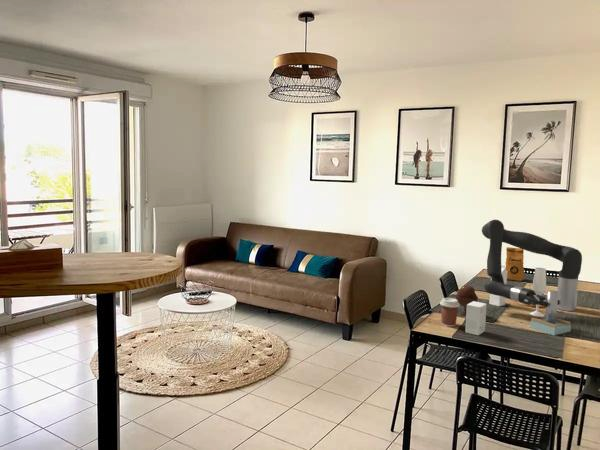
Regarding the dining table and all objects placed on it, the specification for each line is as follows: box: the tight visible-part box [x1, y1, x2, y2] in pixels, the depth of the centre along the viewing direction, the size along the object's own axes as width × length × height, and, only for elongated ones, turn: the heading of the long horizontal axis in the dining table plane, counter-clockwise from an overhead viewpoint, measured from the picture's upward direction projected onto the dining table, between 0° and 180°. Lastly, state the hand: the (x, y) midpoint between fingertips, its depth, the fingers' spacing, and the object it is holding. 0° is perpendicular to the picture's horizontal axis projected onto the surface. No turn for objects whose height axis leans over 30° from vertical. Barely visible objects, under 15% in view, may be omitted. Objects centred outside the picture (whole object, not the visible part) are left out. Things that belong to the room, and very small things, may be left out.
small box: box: [464, 301, 487, 336], centre depth 219 cm, size 8×6×13 cm
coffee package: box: [505, 246, 525, 282], centre depth 327 cm, size 10×12×22 cm
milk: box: [488, 264, 508, 307], centre depth 265 cm, size 6×6×22 cm
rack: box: [529, 317, 572, 336], centre depth 225 cm, size 12×12×4 cm
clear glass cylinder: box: [544, 289, 558, 324], centre depth 224 cm, size 4×4×15 cm
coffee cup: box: [439, 297, 461, 327], centre depth 229 cm, size 9×9×12 cm
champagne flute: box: [529, 267, 547, 317], centre depth 247 cm, size 7×7×24 cm
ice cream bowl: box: [455, 285, 479, 317], centre depth 245 cm, size 11×11×15 cm
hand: (553, 303), depth 223 cm, fingers open, 8 cm apart
